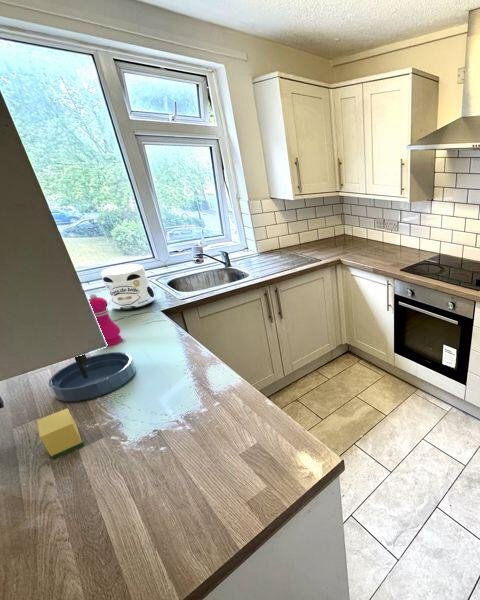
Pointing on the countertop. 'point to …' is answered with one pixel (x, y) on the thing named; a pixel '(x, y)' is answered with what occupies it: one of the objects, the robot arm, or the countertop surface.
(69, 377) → the bowl
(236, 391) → the countertop surface
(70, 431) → the sponge
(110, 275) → the milk container
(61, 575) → the countertop surface
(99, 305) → the pepper mill
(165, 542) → the countertop surface
